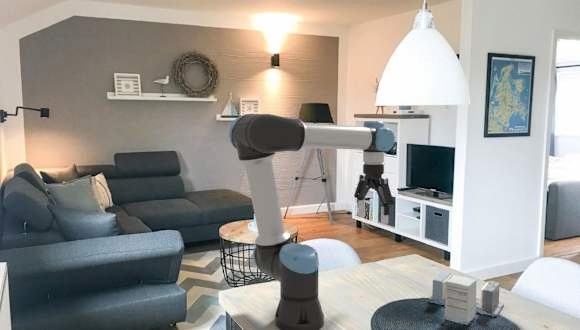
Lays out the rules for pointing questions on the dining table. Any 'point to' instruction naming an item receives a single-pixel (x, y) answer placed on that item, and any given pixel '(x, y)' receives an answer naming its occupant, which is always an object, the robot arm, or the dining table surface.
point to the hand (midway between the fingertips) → (372, 220)
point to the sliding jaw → (440, 285)
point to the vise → (489, 298)
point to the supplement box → (460, 298)
